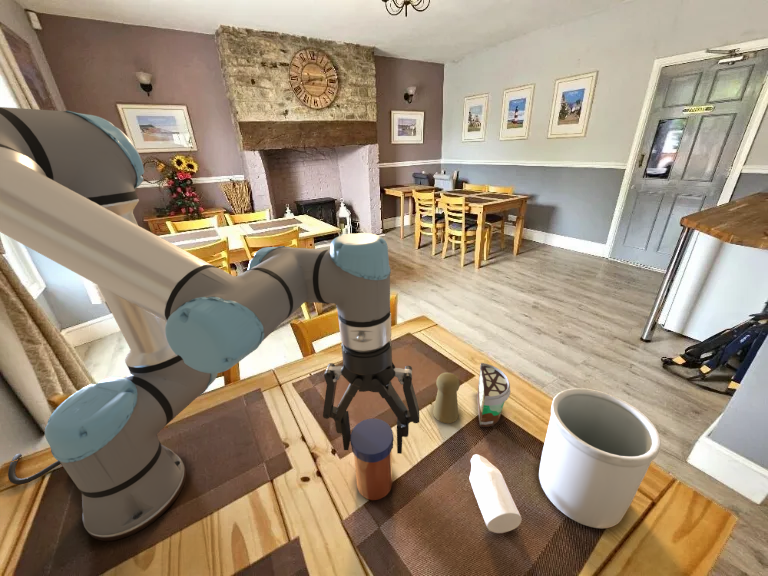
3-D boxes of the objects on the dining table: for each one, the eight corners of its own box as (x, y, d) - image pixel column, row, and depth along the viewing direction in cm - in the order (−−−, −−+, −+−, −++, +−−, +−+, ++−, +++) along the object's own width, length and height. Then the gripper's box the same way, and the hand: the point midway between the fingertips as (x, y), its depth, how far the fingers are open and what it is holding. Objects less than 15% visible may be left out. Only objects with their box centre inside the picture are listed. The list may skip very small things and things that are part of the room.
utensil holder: (518, 459, 63) (533, 393, 56) (582, 446, 66) (605, 381, 58) (570, 541, 50) (599, 469, 43) (648, 521, 52) (689, 450, 45)
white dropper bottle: (489, 464, 62) (493, 444, 60) (519, 530, 52) (525, 510, 49) (460, 467, 62) (462, 448, 60) (484, 535, 51) (488, 515, 49)
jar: (354, 498, 57) (349, 453, 52) (360, 464, 63) (356, 421, 58) (390, 501, 56) (389, 456, 51) (393, 466, 62) (392, 423, 57)
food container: (509, 436, 68) (516, 401, 64) (480, 431, 69) (485, 398, 65) (501, 395, 79) (507, 364, 75) (476, 392, 80) (480, 361, 76)
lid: (347, 461, 52) (346, 453, 51) (355, 424, 59) (354, 417, 58) (391, 464, 52) (391, 456, 51) (394, 427, 58) (394, 419, 57)
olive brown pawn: (463, 418, 73) (467, 382, 68) (441, 426, 71) (444, 389, 66) (449, 400, 78) (452, 365, 73) (428, 408, 76) (430, 372, 72)
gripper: (287, 352, 44) (308, 460, 53) (441, 357, 42) (435, 469, 51) (304, 324, 50) (320, 424, 60) (437, 327, 48) (433, 430, 58)
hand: (373, 445), depth 55 cm, fingers open, 9 cm apart
